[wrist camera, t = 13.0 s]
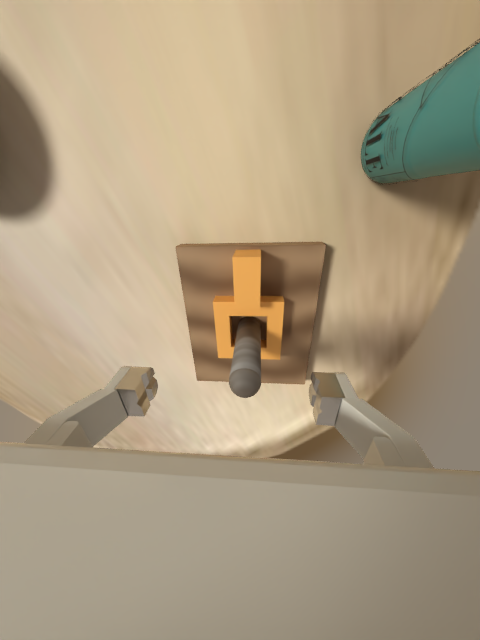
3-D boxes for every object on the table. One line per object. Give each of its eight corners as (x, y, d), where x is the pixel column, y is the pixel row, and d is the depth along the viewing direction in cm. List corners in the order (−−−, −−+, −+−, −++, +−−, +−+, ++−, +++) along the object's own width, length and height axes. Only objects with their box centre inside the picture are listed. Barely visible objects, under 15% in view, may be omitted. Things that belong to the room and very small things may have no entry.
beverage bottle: (428, 159, 23) (996, 23, 5) (362, 199, 25) (610, 199, 7) (411, 87, 20) (1359, -612, 3) (341, 139, 22) (630, -78, 5)
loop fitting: (211, 250, 27) (204, 257, 23) (286, 249, 26) (290, 256, 23) (220, 349, 34) (215, 367, 30) (279, 351, 33) (281, 369, 30)
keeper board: (180, 244, 29) (117, 279, 16) (321, 241, 27) (377, 278, 14) (199, 372, 39) (171, 455, 26) (302, 375, 38) (324, 465, 25)
